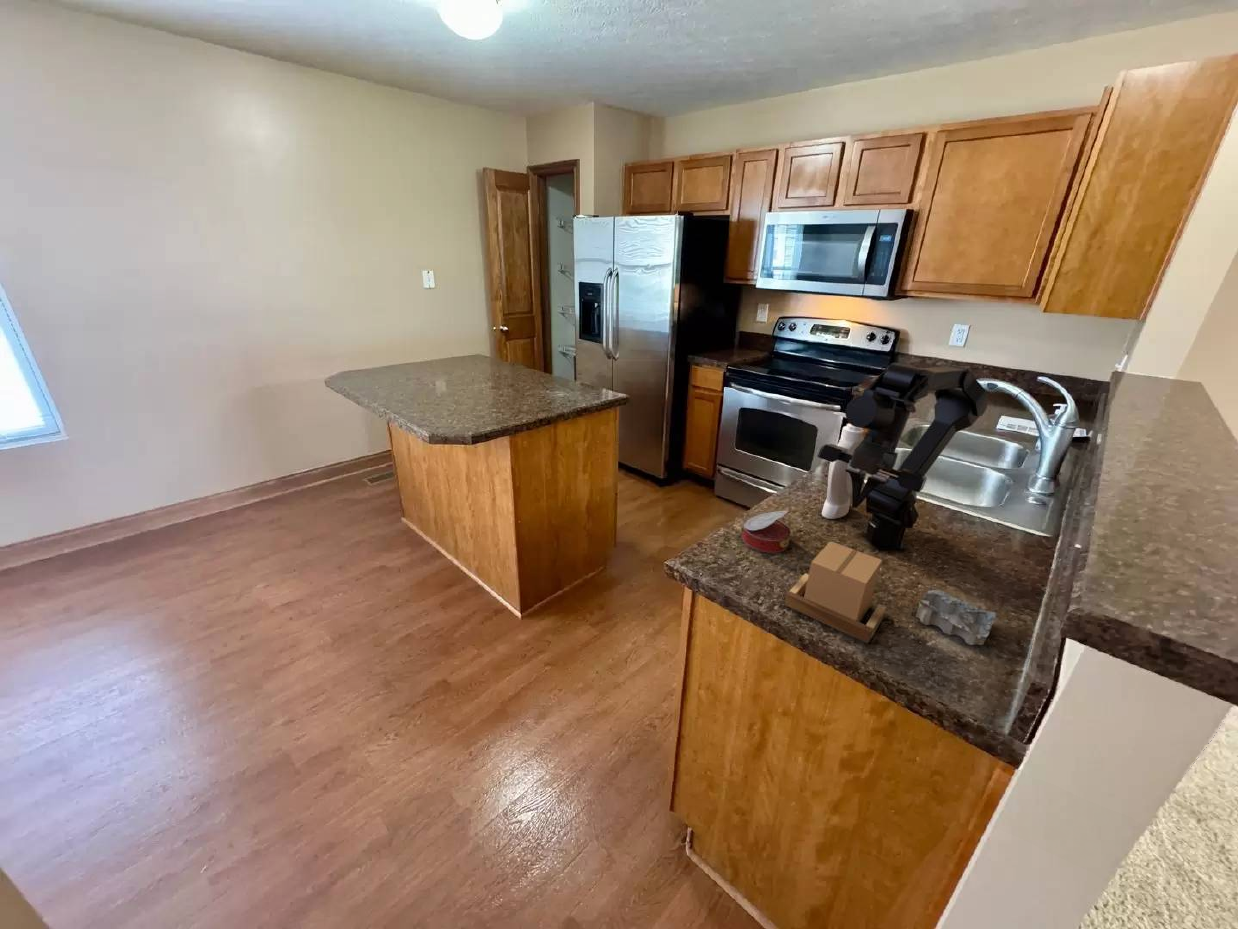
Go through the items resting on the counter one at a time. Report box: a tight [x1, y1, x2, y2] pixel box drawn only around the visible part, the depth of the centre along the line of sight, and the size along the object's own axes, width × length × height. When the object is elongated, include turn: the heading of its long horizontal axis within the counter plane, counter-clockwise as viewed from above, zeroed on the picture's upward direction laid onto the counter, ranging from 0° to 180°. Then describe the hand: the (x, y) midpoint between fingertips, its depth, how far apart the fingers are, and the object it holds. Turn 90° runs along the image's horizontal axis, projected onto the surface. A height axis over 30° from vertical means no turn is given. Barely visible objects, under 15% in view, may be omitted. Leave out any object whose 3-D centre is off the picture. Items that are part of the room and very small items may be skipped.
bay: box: [784, 573, 887, 645], centre depth 90 cm, size 8×14×2 cm, turn 49°
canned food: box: [741, 509, 791, 554], centre depth 111 cm, size 11×10×10 cm
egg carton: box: [915, 589, 997, 646], centre depth 88 cm, size 11×8×4 cm
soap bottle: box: [821, 411, 865, 520], centre depth 121 cm, size 13×8×24 cm, turn 133°
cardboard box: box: [803, 541, 883, 623], centre depth 90 cm, size 9×9×10 cm
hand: (854, 507), depth 100 cm, fingers closed
